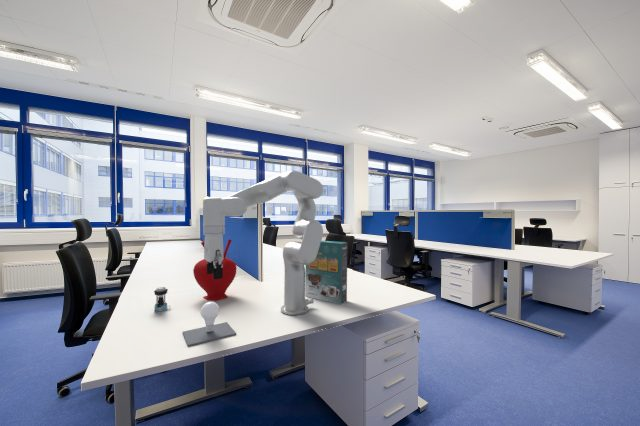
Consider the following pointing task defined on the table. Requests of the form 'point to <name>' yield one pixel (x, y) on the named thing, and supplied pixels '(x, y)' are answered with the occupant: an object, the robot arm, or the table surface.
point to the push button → (160, 299)
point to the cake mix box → (328, 273)
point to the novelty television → (217, 286)
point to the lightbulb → (209, 314)
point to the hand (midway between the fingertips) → (214, 276)
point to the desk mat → (208, 334)
